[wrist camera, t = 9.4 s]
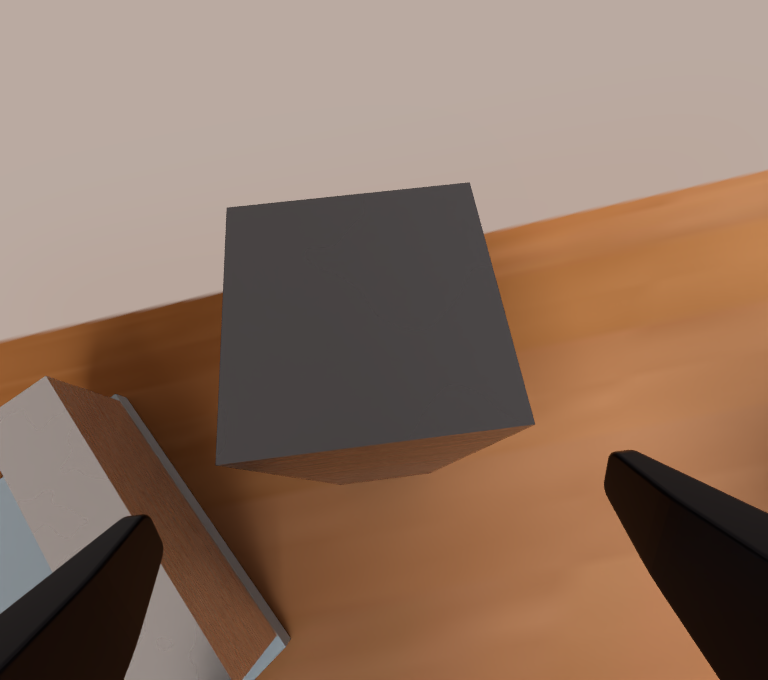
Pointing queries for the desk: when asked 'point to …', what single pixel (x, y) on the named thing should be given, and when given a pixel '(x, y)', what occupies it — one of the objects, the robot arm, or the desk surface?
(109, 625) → the robot arm
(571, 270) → the desk surface
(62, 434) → the bar
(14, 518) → the vise base
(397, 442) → the steel block
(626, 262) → the desk surface
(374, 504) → the desk surface
